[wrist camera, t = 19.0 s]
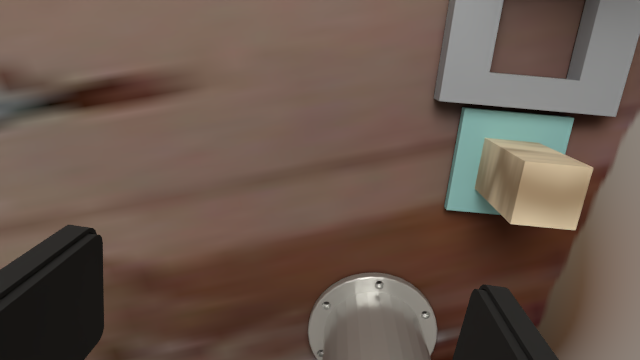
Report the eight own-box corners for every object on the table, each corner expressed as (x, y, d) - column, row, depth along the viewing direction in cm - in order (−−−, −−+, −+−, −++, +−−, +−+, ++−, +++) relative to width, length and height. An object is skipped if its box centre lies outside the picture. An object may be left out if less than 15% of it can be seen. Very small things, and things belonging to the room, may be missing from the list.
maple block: (526, 193, 37) (575, 230, 29) (474, 188, 37) (510, 224, 29) (538, 142, 36) (593, 167, 28) (484, 137, 36) (525, 161, 28)
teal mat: (543, 215, 38) (548, 219, 38) (444, 206, 38) (446, 209, 38) (569, 116, 36) (574, 117, 35) (462, 106, 36) (464, 108, 35)
